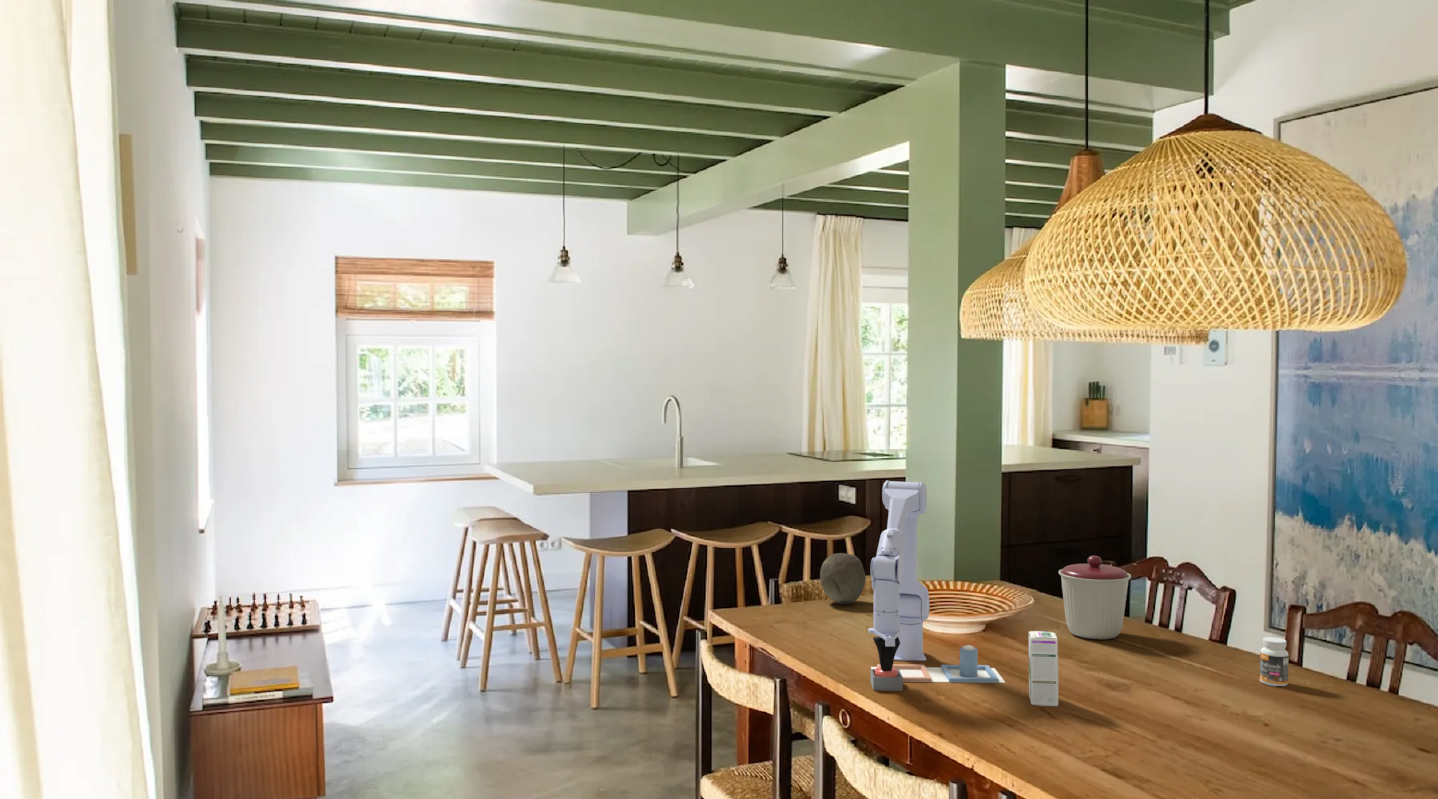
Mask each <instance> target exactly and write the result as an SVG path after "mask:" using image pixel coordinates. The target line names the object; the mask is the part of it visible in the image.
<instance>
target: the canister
mask: <svg viewBox="0 0 1438 799" xmlns="http://www.w3.org/2000/svg"><path fill="white" fill-rule="evenodd" d="M1102 562H1103V561H1102V558H1101V557H1100V556H1098V555H1090V556H1089V557H1088V558H1087V563H1076V564H1069V565H1066V566H1064V567H1063V568H1062V569H1059V570H1058V574H1059V576H1061V577H1060V578H1061V590H1062V598H1063V600H1062V601H1063V607H1064V615H1065V623H1066V626H1067V630H1068V631H1069V632H1070V633H1071V634H1072V635H1074V636H1077V637H1079V638H1083V639H1090V640H1109V639H1110V640H1111V639H1114V638H1116V637H1118V636H1119V635H1120V633H1121V632H1122V629H1123V623H1124V617H1125V613H1126V612H1125V609H1126V601H1127V594H1128V588H1129V587H1128V586H1129V580H1131V578H1132V575H1131V574H1130V573H1129V572H1127V571H1126V570H1125V569H1123V568H1120V567H1117V566H1113V565H1109V564H1102Z"/></svg>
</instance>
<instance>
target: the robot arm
mask: <svg viewBox="0 0 1438 799" xmlns="http://www.w3.org/2000/svg"><path fill="white" fill-rule="evenodd" d="M881 491H882V492H881V496H882V498H881V499H882V503H883V505H884V507H885V509H886V510H888V517H887V526H886V529H885V530H883V531H882V532H881V534H880V537H879V542H878V544H877V545H878V546H877V550H876V556H875V557H872V559H871V561H870V579H871V589H872V590H873V627H869V628H868V629H867V632H868V633H869V634H874V635H876V636H873V638H872V640H873V642H874V644H875V646H876V649H877V655H878V660H879V664H880V666H881V669H882V671H891V670H892V667H893V664H894V661H917V662H918V661H919V662H920V661H921V662H923V661H924V662H925V661H927V658H926V656H925V655H926V654H924V647H923V646H924V644H923V642H924V641H923V640H924V636H923V634H924V633H923V632H924V631H923V630H924V628H923V627H924V626H923V625H924V623H923V622H925V621H927V620H928V618H929V616H930V606H931V605H930V597H929V590H928V587H926V586H925V585H924V584H922V582H920V581H919V580H918V521H919V517H920V515H922V514H926V511H927V509H928V508H927V494H928V492H927V484H925V482H924V481H920V482H919V481H918V482H917V481H915V482H914V481H896V480H895V481H894V480H893V481H891V480H885V482H884V483H883V485H882V490H881Z"/></svg>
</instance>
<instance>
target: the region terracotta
mask: <svg viewBox="0 0 1438 799" xmlns="http://www.w3.org/2000/svg"><path fill="white" fill-rule="evenodd" d="M876 667H877V668H879V667H881V666H880V663H877V664H876ZM926 667H927V666H926V665H925V664H913V663H912V664H910V663H908V664H902V663H900V664H894V663H893V667H892V668H895V669H921V671H922V673H923V675H924V677H903V683H914V682H915V683H932V682H931V676H930V675H929V673H928V671H927V669H926Z"/></svg>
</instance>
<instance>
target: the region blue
mask: <svg viewBox="0 0 1438 799" xmlns="http://www.w3.org/2000/svg"><path fill="white" fill-rule="evenodd" d="M940 668H941V669H942V670H943V672H944V674H945V675H946V677H947V679H948V681H949V682H948V683H978V682H999V679H998V677H997V676H996V675H995V673H994V672H993V671H992V669H991V668H992V667H990V665H989V664H988V665H987V664H983V665H982V664H978V670H986V672H987V673H988V675H989V676H990V677H991V678H982V677H953V676H952V675H951V673H950V671H949V670H948V669H960V664H941V666H940Z"/></svg>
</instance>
